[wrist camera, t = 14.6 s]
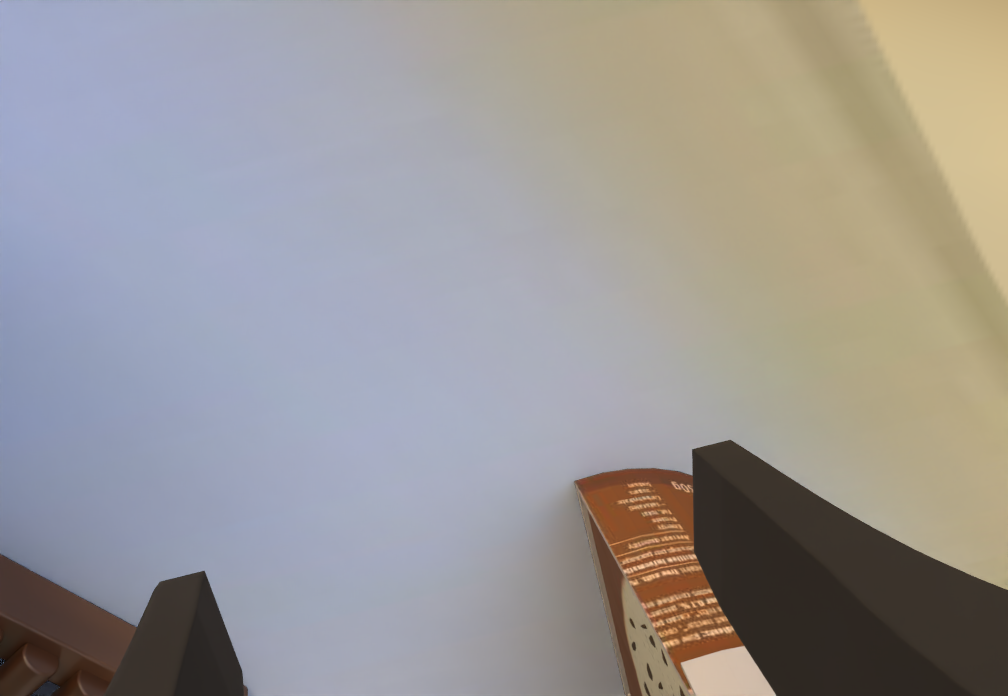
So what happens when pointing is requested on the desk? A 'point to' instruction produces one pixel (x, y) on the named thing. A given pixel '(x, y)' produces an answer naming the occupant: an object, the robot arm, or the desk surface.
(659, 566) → the food container
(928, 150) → the desk surface
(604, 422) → the desk surface
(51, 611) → the dish rack
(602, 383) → the desk surface
